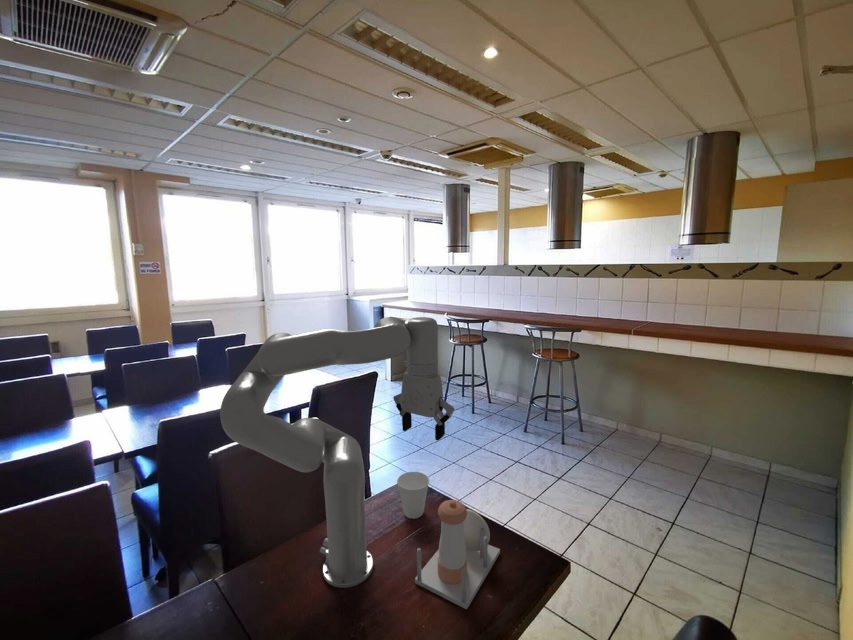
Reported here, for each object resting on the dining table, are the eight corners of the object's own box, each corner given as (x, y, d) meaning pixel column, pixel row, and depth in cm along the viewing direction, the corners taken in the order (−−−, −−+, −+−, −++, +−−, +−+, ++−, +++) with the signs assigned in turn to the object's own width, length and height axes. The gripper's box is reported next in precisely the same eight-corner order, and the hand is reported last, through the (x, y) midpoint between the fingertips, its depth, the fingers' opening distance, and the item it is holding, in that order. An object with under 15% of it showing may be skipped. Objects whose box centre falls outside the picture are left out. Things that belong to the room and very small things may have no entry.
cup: (416, 528, 116) (415, 493, 114) (390, 515, 122) (390, 482, 120) (436, 510, 124) (435, 478, 122) (411, 499, 130) (411, 468, 128)
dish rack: (414, 583, 97) (414, 537, 95) (453, 534, 113) (453, 494, 111) (466, 609, 89) (467, 561, 87) (499, 553, 106) (501, 511, 104)
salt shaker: (464, 560, 102) (465, 492, 99) (469, 583, 95) (470, 510, 92) (436, 562, 102) (435, 493, 99) (439, 585, 95) (439, 512, 91)
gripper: (384, 366, 99) (386, 431, 102) (445, 377, 90) (445, 448, 93) (402, 359, 105) (403, 421, 108) (460, 369, 96) (460, 435, 99)
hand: (423, 433), depth 100 cm, fingers open, 9 cm apart
